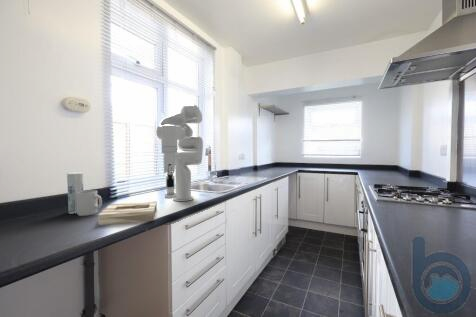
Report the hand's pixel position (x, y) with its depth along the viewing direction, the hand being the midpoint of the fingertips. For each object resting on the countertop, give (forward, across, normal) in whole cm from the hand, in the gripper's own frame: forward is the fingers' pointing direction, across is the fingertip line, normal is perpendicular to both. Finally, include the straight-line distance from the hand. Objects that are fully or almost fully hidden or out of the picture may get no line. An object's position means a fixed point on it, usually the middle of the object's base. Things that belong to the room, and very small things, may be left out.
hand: (170, 185), depth 109 cm
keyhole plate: (+14, +1, -18) cm, 23 cm away
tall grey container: (+14, -15, -46) cm, 51 cm away
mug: (+14, -10, -38) cm, 42 cm away
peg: (+6, 0, 0) cm, 6 cm away
